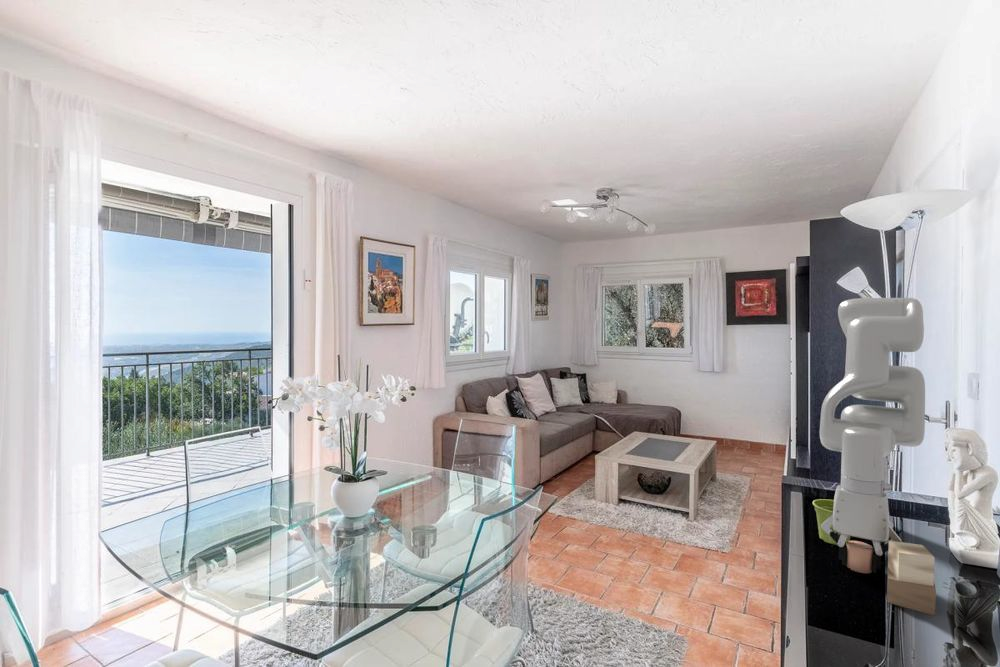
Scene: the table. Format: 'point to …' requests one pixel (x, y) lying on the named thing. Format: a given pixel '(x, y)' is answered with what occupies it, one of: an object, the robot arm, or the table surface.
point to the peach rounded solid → (859, 556)
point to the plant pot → (825, 518)
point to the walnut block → (911, 594)
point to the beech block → (911, 563)
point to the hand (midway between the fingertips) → (858, 565)
